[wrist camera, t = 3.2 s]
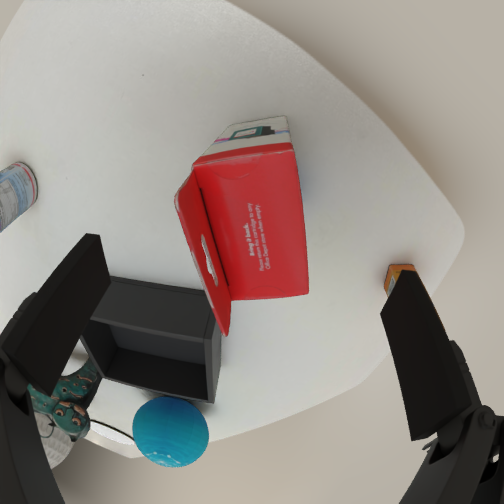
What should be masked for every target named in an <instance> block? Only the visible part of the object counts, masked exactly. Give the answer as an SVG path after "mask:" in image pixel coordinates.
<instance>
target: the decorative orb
mask: <svg viewBox="0 0 504 504" xmlns="http://www.w3.org/2000/svg"><path fill="white" fill-rule="evenodd" d="M132 430H133V438H134V441H135V443H136V445H137V447H138V449H139V450H140V451H141V453H142V454H143V455H144V456H146V457H147V458H148V459H150V460H151V461H152V462H155V463H156V464H159V465H162V466H165V467H182V466H186V465H189V464H191V463H193V462H194V461H196V460H197V459H198V458H199V457H200V456H201V455H202V454H203V452H204V451H205V449H206V447H207V444H208V441H209V431H208V427H207V423H206V421H205V418H204V416H203V415H202V414H201V412H200V411H199V410H198V409H197V408H196V407H195V406H193V405H192V404H191V403H189V402H187V401H185V400H183V399H180V398H176V397H169V396H165V397H158V398H154V399H152V400H150V401H148V402H147V403H145V404H144V405H142V406H141V407H140V408H139V410H138V411H137V413H136V414H135V417H134V420H133V427H132Z"/></svg>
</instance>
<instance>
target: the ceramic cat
mask: <svg viewBox="0 0 504 504" xmlns="http://www.w3.org/2000/svg"><path fill="white" fill-rule="evenodd" d="M101 380H102V377H101V375H100V373H99V372H98V370H97V368H96V367H95V365H94V363H93V362H92V360H91V358H90V357H89V359H88V361H87V362H86V363H85V364H84V365H83V366H82V367H81V368H80V369H79V370H78V371H76V372H74V373H72V374H70V375H68V376H60V378H59V380H58V383H57V385H56V387H55V389H54V391H53V394H52V396H51V398H50V397H48V396H46V395H44V394H42V393H40V392H38V391H36V390H35V389H34V388H33V386H32V385H31V384H30V383H29V385H28V387H27V388H28V389H29V392H30V395H31V400H32V405H33V409H34V412H35V413H39V414H43V415H45V416H47V417H48V418H49V419H50V420H51V422H52V423H49V424H48V425H49V426H52V427H53V428H52V432H51V434H50V435H49V436H45V437H44V436H41V435H40V437H42V438H49V437H50V436H51V435H52V433H53V431H54V427H56V428H59V429H60V430H61V431H62V432H64V433H65V434H66V435H68V436H69V437H70V439H71V442H75V441H76V440H77V439H78V438H83V437H85V436H86V435H87V433H88V431H89V430H90V426H91V421H90V418H89V415H88V413H87V411H86V410H87V408H88V407H89V405H90V404H91V402H92V400H93V398H94V396H95V394H96V392H97V389H98V387H99V384H100V382H101ZM50 417H52V419H51V418H50Z"/></svg>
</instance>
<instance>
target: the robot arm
mask: <svg viewBox="0 0 504 504" xmlns="http://www.w3.org/2000/svg"><path fill="white" fill-rule="evenodd" d="M110 284H111V279H110V275H109V272H108V268H107V264H106V260H105V256H104V252H103V248H102V243H101V239H100V235H97V234H88V233H86V234H85V235H84V236H83V237H82V238H81V239H80V241H79V242H78V243H77V244H76V245H75V246H74V247H73V249H72V250H71V251H70V252H69V253H68V254H67V256H66V257H65V258H64V259H63V260H62V262H61V263H60V264H59V265H58V266H57V268H56V269H55V270H54V271H53V273H52V274H51V275H50V277H49V278H48V279H47V280H46V282H45V283H44V284H43V286H42V287H41V288H40V290H39V291H38V292H37V293H36V292H33V293H32V294H31V295H30V296H28V297H27V298H26V299H25V300H24V301H23V302H22V304H21V305H20V306H19V308H18V311H16V312H15V314H14V315H13V318H11V319H10V321H9V322H8V324H7V325H6V327H5V328H4V330H3V331H2V333H1V335H0V504H65V502H64V500H63V497H62V496H61V493H60V491H59V488H58V486H57V483H56V481H55V478H54V476H53V473H52V470H51V468H50V465H49V462H48V459H47V456H46V453H45V450H44V447H43V444H42V440H41V437H40V433H39V430H38V426H37V422H36V418H35V414H34V409H33V405H32V400H31V395H30V392H29V389H28V388H27V387H28V385H29V383H30V384H31V385H32V386H33V388H34V389H35V390H36V391H38V392H40V393H42V394H44V395H46V396H48V397H50V398H51V396H52V394H53V391H54V389H55V387H56V385H57V383H58V380H59V378H60V376H61V374H62V372H63V370H64V368H65V366H66V364H67V362H68V360H69V358H70V356H71V354H72V352H73V350H74V348H75V346H76V344H77V342H78V340H79V338H80V336H81V335H82V333H83V331H84V329H85V327H86V325H87V324H88V322H89V320H90V318H91V316H92V315H93V313H94V311H95V309H96V308H97V306H98V304H99V303H100V301H101V299H102V297H103V296H104V294H105V292H106V291H107V289H108V287H109V286H110ZM380 315H381V319H382V322H383V325H384V328H385V332H386V335H387V338H388V342H389V345H390V349H391V353H392V356H393V359H394V364H395V368H396V371H397V375H398V379H399V383H400V388H401V392H402V396H403V401H404V405H405V410H406V415H407V420H408V425H409V430H410V436H411V441H415V440H420V439H425V438H428V437H429V436H431V435H432V434H434V433H435V432H437V436H438V437H437V438H436V439H434V440H433V441H431V442H430V443H428V444H426V445H425V446H424V447H423V449H422V450H425V449H427V448H429V447H430V446H431V447H430V449H429V450H428V451H427V453H428V454H427V456H426V457H425V459H424V461H423V463H422V465H421V467H420V469H419V471H418V472H417V474H416V476H415V478H414V480H413V481H412V483H411V485H410V486H409V488H408V490H407V491H406V493H405V495H404V496H403V498H402V499H401V501H400V502H399V504H504V416H497V415H495V413H494V411H493V410H492V409H491V408H490V407H488V406H486V405H482V404H481V401H480V399H479V395H478V392H477V390H476V387H475V384H474V381H473V378H472V376H471V373H470V372H469V368H468V365H467V363H466V360H465V358H464V355H463V352H462V350H461V349H460V348H459V346H458V345H457V344H456V342H455V341H454V340H452V341H449V339H448V336H447V334H446V332H445V329H444V327H443V325H442V323H441V320H440V318H439V316H438V314H437V312H436V310H435V308H434V305H433V303H432V301H431V299H430V297H429V295H428V293H427V291H426V289H425V287H424V285H423V283H422V282H421V280H420V278H419V276H418V274H417V272H416V271H412V270H403V269H402V270H401V273H400V275H399V277H398V279H397V281H396V283H395V285H394V287H393V289H392V291H391V293H390V295H389V297H388V299H387V301H386V303H385V305H384V307H383V309H382V311H381V313H380ZM497 454H499V459H498V461H496V462H493V457H494V456H495V455H497Z"/></svg>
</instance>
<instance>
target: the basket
mask: <svg viewBox="0 0 504 504" xmlns="http://www.w3.org/2000/svg"><path fill="white" fill-rule="evenodd" d="M110 279H111V284H110V286H109V287H108V289H107V291H106V292H105V294H104V296H103V297H102V299H101V301H100V303H99V304H98V306H97V308H96V309H95V311H94V313H93V315H92V316H91V318H90V320H89V322H88V324H87V325H86V327H85V329H84V331H83V333H82V335H81V336H80V340H81V342H82V344H83V346H84V348H85V349H86V351H87V353H88V355H89V356H90V358H91V360H92V362H93V363H94V365H95V367H96V368H97V370H98V372H99V373H100V375H101V377H102V378H105V379H108V380H111V381H115V382H118V383H122V384H125V385H129V386H132V387H136V388H140V389H144V390H148V391H152V392H156V393H161V394H165V395H170V396H174V397H179V398H184V399H190V400H195V401H201V402H207V403H213V404H214V401H215V395H216V389H217V384H218V378H219V372H220V367H221V330H220V328H219V325H218V323H217V320H216V318H215V315H214V313H213V310H212V308H211V306H210V303H209V301H208V298H207V295H206V293H205V291H202V290H195V289H188V288H181V287H174V286H168V285H161V284H155V283H149V282H143V281H137V280H131V279H125V278H119V277H114V276H110Z"/></svg>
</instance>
